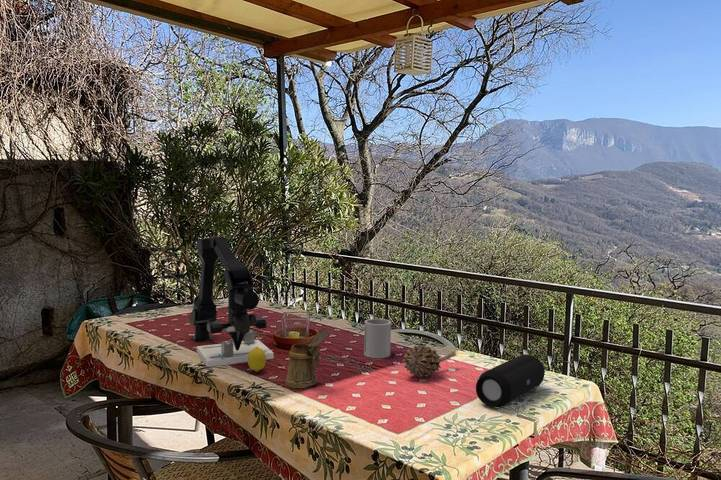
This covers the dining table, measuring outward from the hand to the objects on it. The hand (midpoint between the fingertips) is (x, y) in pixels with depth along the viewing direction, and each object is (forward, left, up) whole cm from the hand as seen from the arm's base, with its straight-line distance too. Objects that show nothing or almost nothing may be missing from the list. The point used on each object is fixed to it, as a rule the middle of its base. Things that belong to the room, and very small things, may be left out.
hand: (237, 350), depth 176 cm
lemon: (+14, +3, -4) cm, 15 cm away
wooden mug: (+31, +13, -4) cm, 34 cm away
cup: (+14, +46, -4) cm, 48 cm away
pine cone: (+38, +52, -4) cm, 64 cm away
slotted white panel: (-6, +1, -3) cm, 7 cm away
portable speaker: (+63, +61, -4) cm, 88 cm away
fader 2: (-12, +7, -1) cm, 14 cm away
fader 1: (0, -3, -1) cm, 3 cm away
